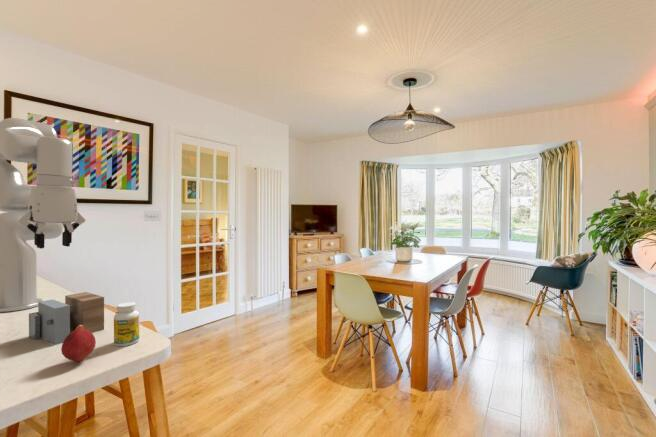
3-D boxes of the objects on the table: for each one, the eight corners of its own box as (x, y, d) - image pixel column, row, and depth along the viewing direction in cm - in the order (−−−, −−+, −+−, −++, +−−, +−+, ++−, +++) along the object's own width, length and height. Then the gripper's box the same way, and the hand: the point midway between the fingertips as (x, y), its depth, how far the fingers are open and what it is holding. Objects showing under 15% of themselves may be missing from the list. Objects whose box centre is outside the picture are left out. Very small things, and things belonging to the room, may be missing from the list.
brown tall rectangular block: (65, 328, 89) (65, 295, 89) (86, 322, 93) (86, 291, 93) (83, 335, 84) (82, 301, 84) (104, 329, 88) (104, 296, 88)
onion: (68, 371, 65) (68, 332, 65) (56, 363, 69) (56, 326, 68) (100, 360, 70) (100, 324, 70) (88, 353, 73) (88, 319, 73)
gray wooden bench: (29, 336, 82) (28, 313, 82) (69, 326, 90) (68, 305, 90) (35, 339, 81) (35, 316, 80) (75, 329, 88) (75, 307, 88)
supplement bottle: (138, 336, 84) (138, 300, 83) (139, 343, 79) (139, 305, 79) (113, 341, 81) (113, 303, 81) (113, 348, 76) (113, 308, 76)
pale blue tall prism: (33, 337, 82) (33, 302, 82) (52, 332, 86) (52, 299, 85) (50, 346, 77) (49, 309, 77) (69, 341, 80) (69, 305, 80)
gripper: (83, 184, 99) (82, 243, 100) (7, 179, 84) (7, 248, 85) (95, 185, 95) (94, 245, 96) (18, 179, 80) (17, 251, 81)
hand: (53, 246), depth 90 cm, fingers open, 5 cm apart
